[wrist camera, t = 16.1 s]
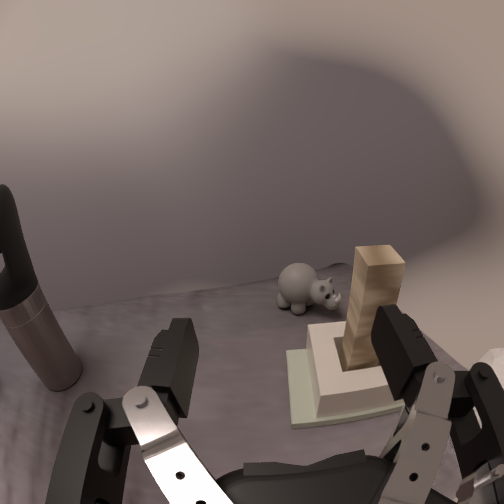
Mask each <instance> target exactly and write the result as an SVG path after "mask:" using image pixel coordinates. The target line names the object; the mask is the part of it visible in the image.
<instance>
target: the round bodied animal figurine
mask: <svg viewBox="0 0 504 504" xmlns="http://www.w3.org/2000/svg"><path fill="white" fill-rule="evenodd" d="M278 287H279V291H280V292H279V295H278V298H277V305H278V306H279V307H280V308H287V307H289V306H290V305H291V311H292V312H293V313H294V314H297V315H299V314H303V313H304V312H305V309H306V306H310V305H313V304H314V302H315V303H316V304H319V305H324V306H325V307H326V308H327V309H329V310H334V309H336V308H337V307H338V306H339V302H340V300H341V296H340V293H339V296H337V295H336V293H335V291H334V287H333V285H332V277H330V278H328V279H327V280H320V281H319V279H318V275H317V273H316V272H315V270H314V269H313V268H312V267H310V266H309V265H307V264H303V263H295V264H291V265H289V266H287V267H286V268H285V269H284V270H283V271H282V273H281V274H280V277H279V281H278Z"/></svg>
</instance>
